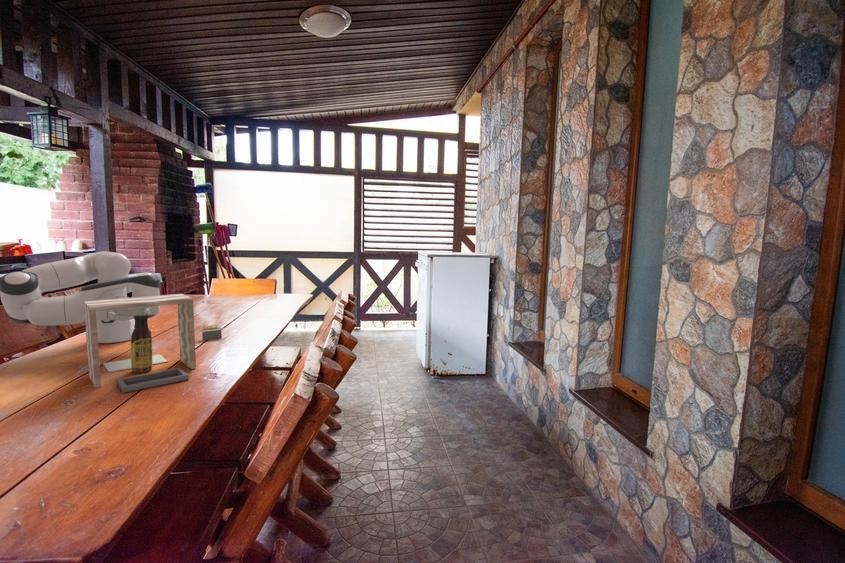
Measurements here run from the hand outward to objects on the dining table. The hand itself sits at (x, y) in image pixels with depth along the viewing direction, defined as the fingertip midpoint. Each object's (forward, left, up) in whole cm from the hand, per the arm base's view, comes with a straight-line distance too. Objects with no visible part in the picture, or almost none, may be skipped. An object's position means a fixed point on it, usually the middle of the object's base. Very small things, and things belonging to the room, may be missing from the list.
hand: (131, 314), depth 157 cm
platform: (-34, +19, -19) cm, 43 cm away
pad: (+1, +1, -18) cm, 18 cm away
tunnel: (+12, +7, -18) cm, 23 cm away
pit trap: (+23, +14, -18) cm, 33 cm away
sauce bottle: (+10, +6, -19) cm, 22 cm away
